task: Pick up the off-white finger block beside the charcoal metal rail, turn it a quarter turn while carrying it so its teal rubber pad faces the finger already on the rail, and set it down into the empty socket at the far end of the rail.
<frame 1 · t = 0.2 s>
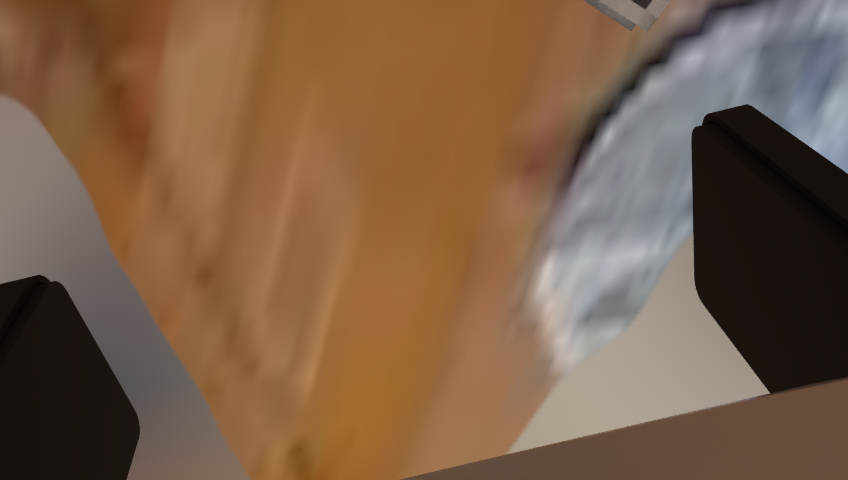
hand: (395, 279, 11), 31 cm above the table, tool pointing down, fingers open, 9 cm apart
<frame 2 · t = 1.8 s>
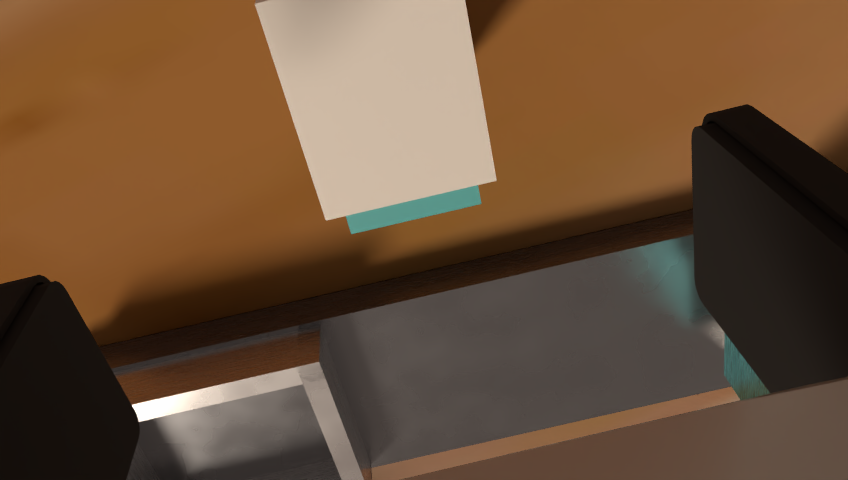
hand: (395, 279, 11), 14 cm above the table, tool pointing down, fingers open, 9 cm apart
rail: (502, 337, 30), on the table
finger: (370, 3, 22), on the table
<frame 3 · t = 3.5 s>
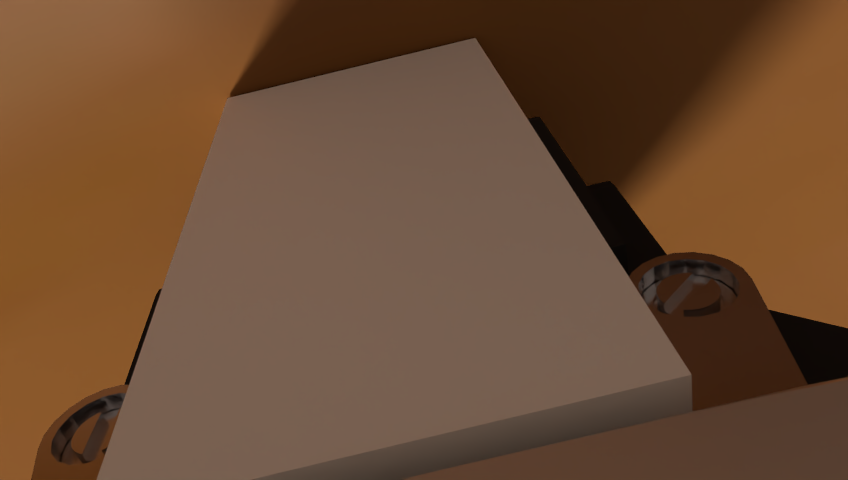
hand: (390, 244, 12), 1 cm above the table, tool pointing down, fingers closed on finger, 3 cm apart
finger: (388, 204, 13), on the table, touching gripper
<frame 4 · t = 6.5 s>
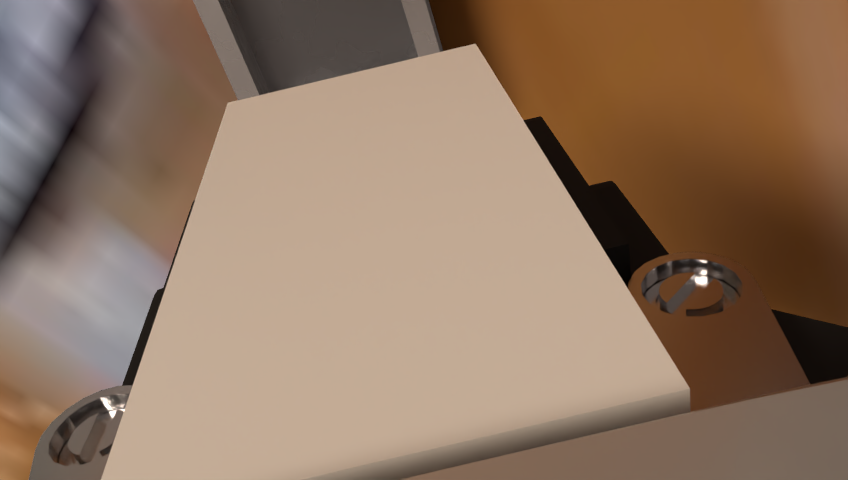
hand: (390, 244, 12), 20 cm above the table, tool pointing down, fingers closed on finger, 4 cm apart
rail: (399, 216, 34), on the table
finger: (387, 209, 13), point 19 cm above the table, touching gripper
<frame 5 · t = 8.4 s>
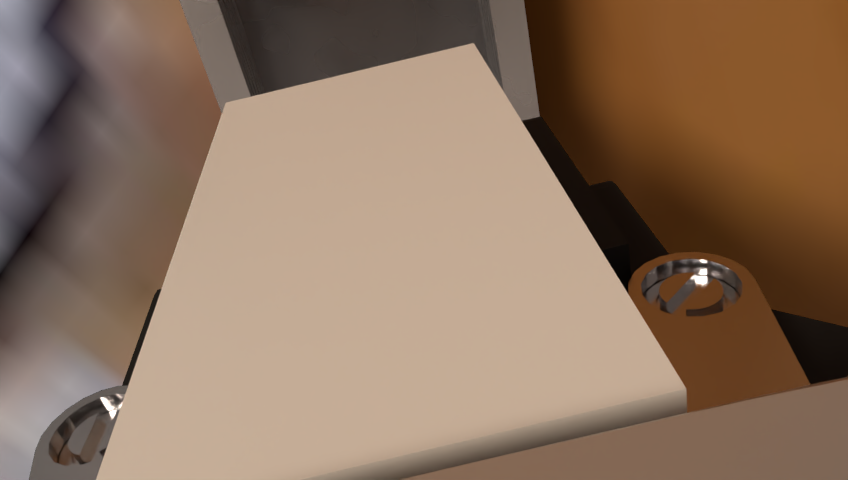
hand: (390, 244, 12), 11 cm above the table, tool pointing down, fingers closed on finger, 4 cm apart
rail: (449, 357, 27), on the table
finger: (386, 209, 13), point 9 cm above the table, touching gripper
when the fingers open (4 cm above the table, at t = 9.9 s): finger drops 1 cm, resting on rail.
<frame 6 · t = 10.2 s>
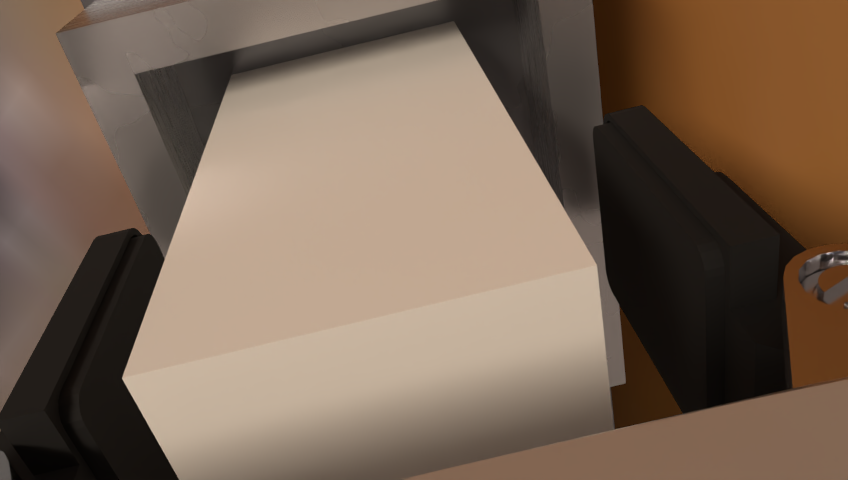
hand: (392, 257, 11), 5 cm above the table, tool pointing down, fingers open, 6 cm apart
finger: (376, 173, 14), point 2 cm above the table, touching rail
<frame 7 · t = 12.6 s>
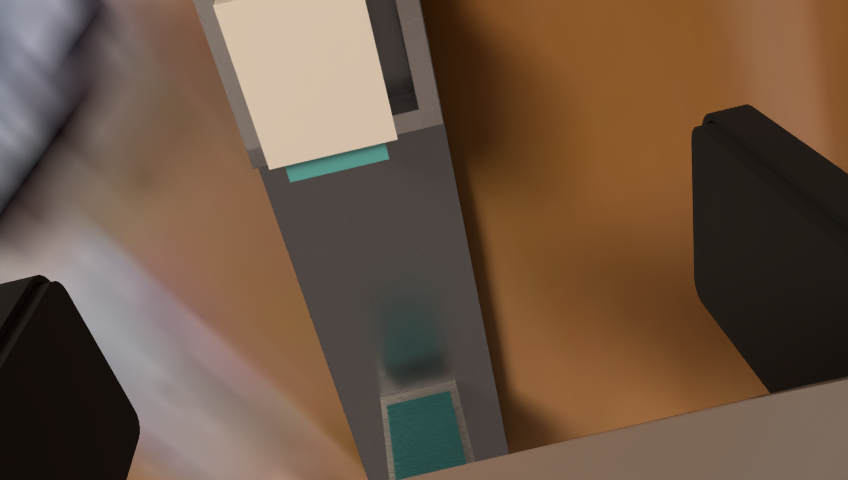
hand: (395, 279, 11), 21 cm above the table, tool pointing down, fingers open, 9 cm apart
rail: (378, 238, 35), on the table
finger: (311, 9, 28), point 1 cm above the table, touching rail
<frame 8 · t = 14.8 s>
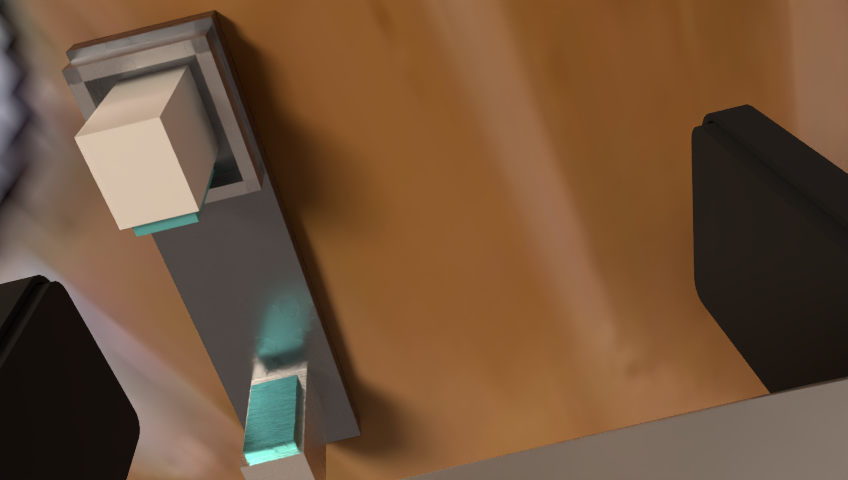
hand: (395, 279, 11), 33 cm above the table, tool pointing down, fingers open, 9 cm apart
rail: (241, 264, 49), on the table
finger: (170, 115, 42), point 1 cm above the table, touching rail
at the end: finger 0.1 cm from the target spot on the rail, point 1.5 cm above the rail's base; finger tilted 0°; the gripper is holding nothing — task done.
